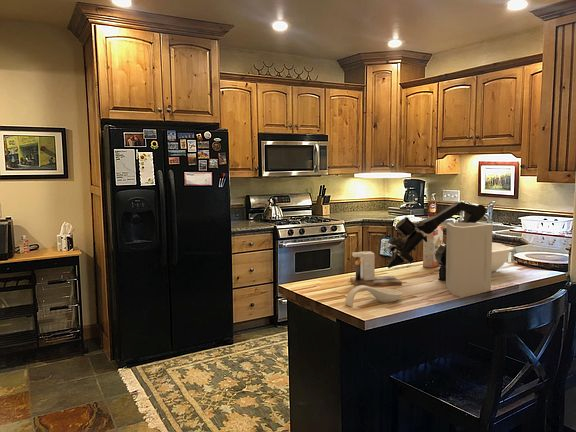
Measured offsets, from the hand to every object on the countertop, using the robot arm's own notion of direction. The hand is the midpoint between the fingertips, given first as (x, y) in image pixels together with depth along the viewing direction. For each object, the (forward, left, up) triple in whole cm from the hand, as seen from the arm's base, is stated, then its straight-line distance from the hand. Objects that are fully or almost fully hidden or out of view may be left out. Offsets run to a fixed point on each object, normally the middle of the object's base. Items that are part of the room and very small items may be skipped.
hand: (387, 267), depth 212 cm
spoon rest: (-12, +32, -7) cm, 35 cm away
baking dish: (-22, -48, -7) cm, 53 cm away
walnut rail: (+4, +4, -7) cm, 9 cm away
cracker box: (0, -48, -7) cm, 48 cm away
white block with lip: (+8, +8, -5) cm, 13 cm away
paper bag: (-31, -7, -7) cm, 33 cm away
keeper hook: (+9, +10, -5) cm, 15 cm away
